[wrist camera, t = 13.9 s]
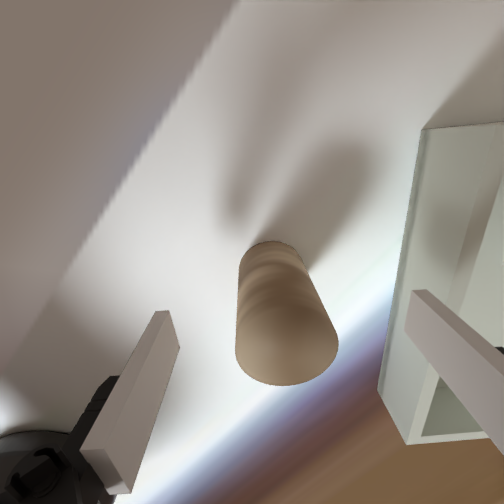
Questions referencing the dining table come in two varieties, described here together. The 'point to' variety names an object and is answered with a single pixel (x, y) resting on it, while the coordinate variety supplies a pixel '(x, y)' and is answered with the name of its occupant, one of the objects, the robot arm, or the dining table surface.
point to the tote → (447, 273)
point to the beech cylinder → (281, 318)
